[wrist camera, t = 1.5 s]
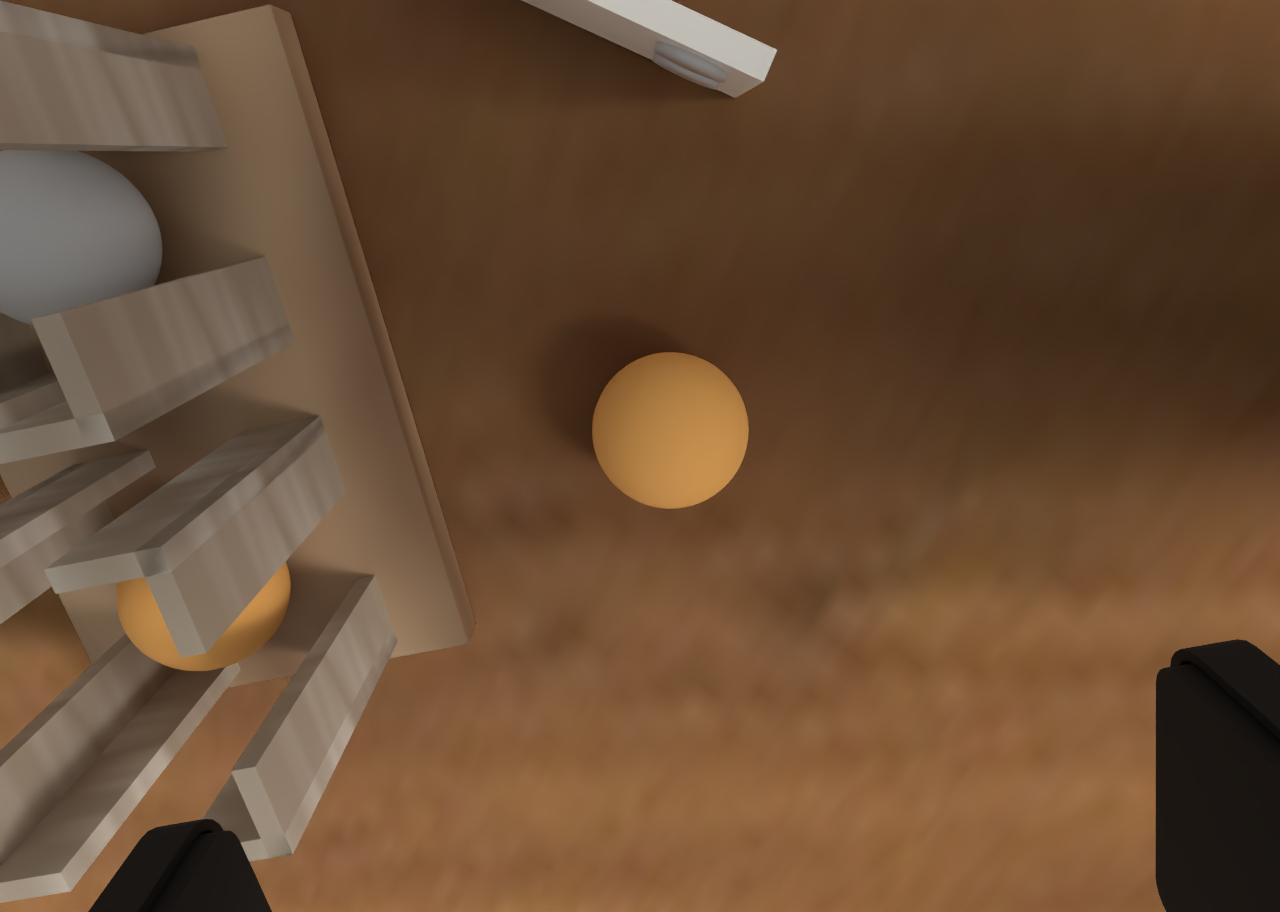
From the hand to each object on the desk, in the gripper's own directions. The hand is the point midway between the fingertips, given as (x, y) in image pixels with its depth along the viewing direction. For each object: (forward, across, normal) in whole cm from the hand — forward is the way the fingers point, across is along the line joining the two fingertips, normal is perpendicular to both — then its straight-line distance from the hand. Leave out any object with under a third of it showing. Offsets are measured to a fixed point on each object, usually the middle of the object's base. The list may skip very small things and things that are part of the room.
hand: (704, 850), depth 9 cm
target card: (+16, 0, -10) cm, 19 cm away
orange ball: (+16, 0, 0) cm, 16 cm away
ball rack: (+16, +12, -3) cm, 20 cm away
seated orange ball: (+15, +12, +2) cm, 19 cm away
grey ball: (+15, +12, -7) cm, 21 cm away
